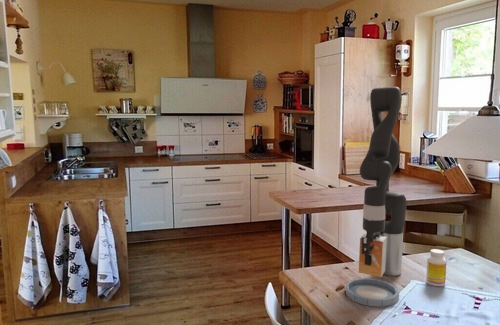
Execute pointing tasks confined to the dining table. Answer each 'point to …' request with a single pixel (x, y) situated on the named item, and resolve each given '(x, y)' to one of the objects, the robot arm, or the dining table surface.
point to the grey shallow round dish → (372, 292)
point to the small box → (374, 258)
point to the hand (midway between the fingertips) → (372, 261)
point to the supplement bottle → (436, 268)
